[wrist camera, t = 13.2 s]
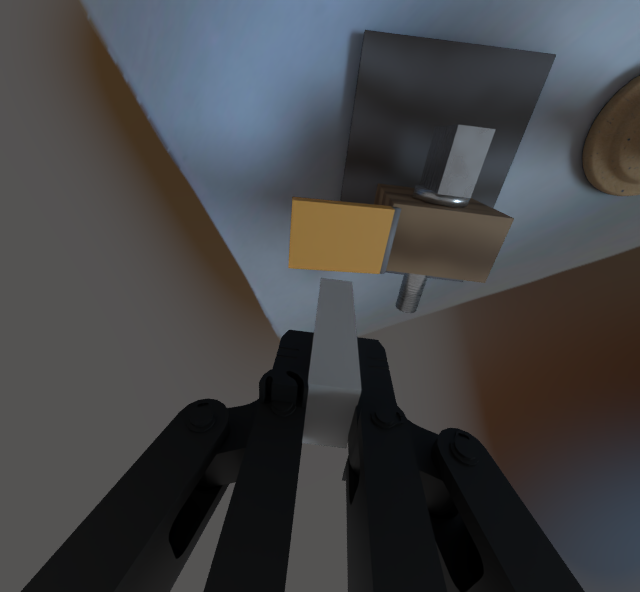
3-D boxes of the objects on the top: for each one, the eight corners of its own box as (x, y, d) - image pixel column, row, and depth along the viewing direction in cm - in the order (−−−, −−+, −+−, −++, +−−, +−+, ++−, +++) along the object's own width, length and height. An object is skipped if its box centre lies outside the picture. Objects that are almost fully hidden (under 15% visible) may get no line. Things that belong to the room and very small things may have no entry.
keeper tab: (292, 196, 22) (292, 199, 21) (398, 206, 23) (403, 210, 22) (288, 262, 25) (288, 268, 24) (383, 268, 26) (387, 274, 25)
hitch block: (364, 33, 27) (379, -30, 17) (549, 57, 27) (680, 8, 17) (331, 262, 39) (329, 309, 29) (460, 278, 39) (503, 330, 29)
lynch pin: (423, 125, 26) (444, 122, 21) (476, 131, 26) (510, 131, 21) (381, 292, 35) (388, 319, 30) (420, 297, 35) (434, 325, 30)
